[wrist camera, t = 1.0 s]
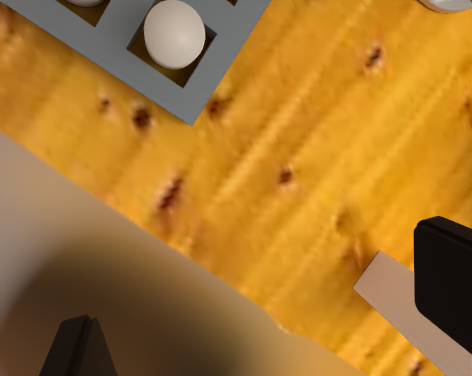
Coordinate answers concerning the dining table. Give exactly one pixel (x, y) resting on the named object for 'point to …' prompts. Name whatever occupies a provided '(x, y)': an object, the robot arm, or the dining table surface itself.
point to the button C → (85, 2)
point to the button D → (173, 34)
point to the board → (128, 30)
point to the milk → (410, 314)
